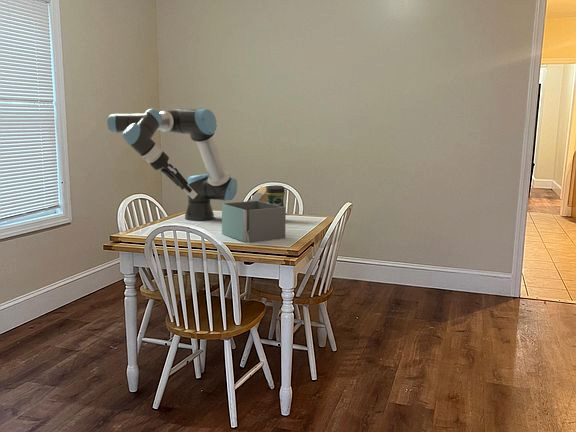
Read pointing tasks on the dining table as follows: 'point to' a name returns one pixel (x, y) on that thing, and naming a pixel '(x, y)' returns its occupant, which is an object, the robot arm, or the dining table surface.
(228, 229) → the side door
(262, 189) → the sandwich container
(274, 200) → the coffee jar
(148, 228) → the dining table surface
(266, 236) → the charcoal box
